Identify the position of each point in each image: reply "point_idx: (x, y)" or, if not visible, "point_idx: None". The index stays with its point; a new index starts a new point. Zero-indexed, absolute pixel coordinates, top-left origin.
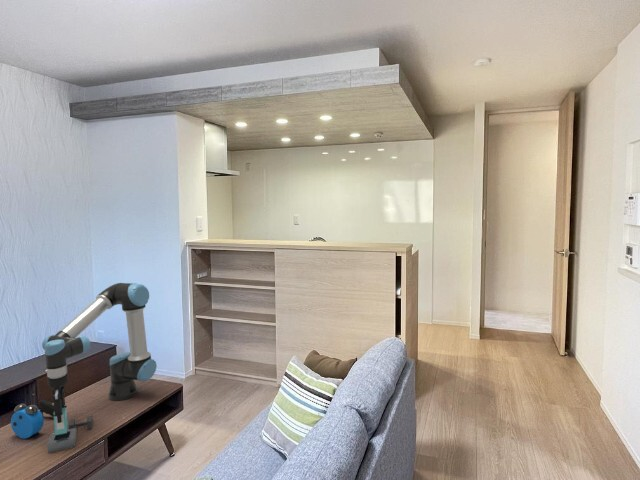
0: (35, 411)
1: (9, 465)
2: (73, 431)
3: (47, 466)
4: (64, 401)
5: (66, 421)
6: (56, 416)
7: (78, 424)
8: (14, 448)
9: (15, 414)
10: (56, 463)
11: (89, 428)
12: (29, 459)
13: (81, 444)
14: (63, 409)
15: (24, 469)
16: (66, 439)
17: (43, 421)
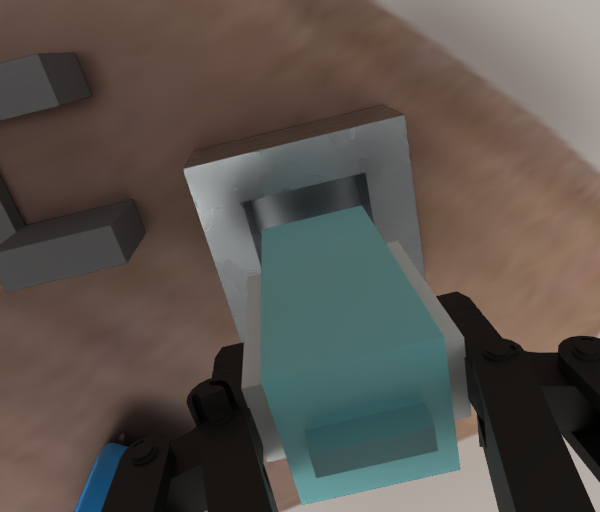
0: None
1: (470, 422)
2: (257, 170)
3: (589, 206)
4: (153, 496)
5: (338, 257)
6: (465, 398)
7: (5, 207)
8: (281, 478)
9: None
10: (579, 157)
11: (79, 73)
12: None
13: (354, 54)
14: (351, 389)
15: (555, 330)
16: (399, 180)
17: (98, 479)
